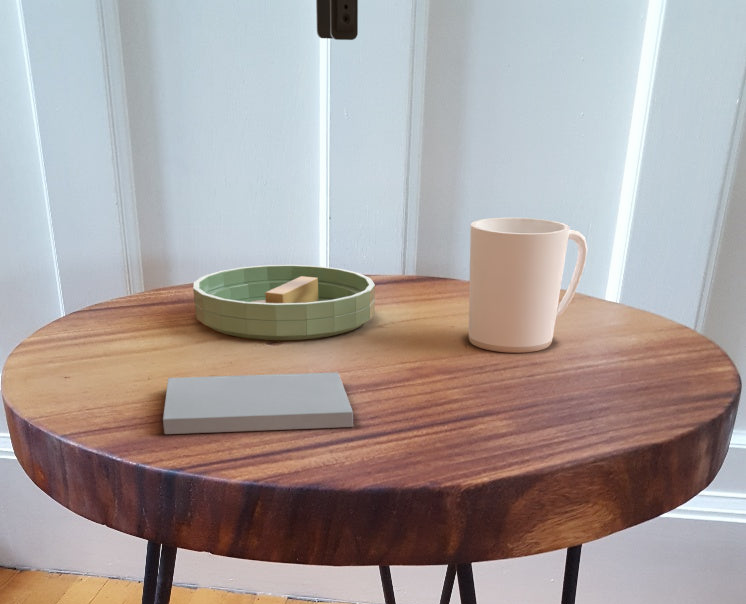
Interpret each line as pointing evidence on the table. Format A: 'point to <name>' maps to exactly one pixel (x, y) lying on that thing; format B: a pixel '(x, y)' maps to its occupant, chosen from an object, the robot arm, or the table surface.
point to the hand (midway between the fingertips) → (336, 39)
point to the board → (256, 403)
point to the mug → (519, 281)
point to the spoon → (294, 292)
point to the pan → (283, 320)
